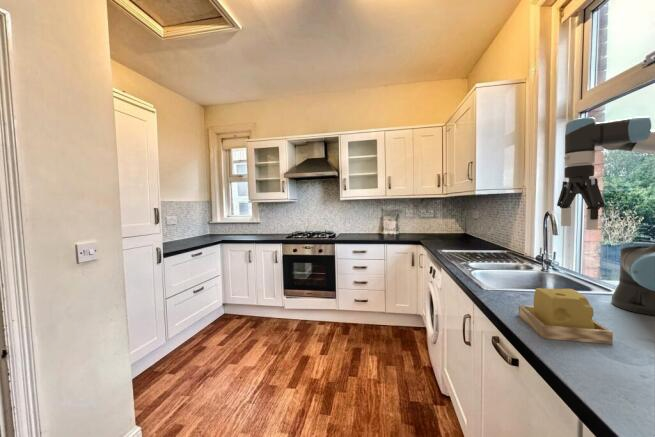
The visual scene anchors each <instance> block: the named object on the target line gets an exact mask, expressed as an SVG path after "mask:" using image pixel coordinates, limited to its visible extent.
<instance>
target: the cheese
mask: <svg viewBox="0 0 655 437" xmlns="http://www.w3.org/2000/svg"><path fill="white" fill-rule="evenodd" d="M590 304H591V303H589V300H588V298H587V297H586V296H585V295H584V294H582V293H580V292H579V291H577V290H575V289H573V288H540V287H539V288H538V287H537V288H535V291H534V294H533V306H534V313H535V317H536V318H537V319H538V320H540V321H541V322H542V323H543V324H544V325H547V326H560V327H572V328H585V329H595V326H594V323H593V321H592V319H593V317H594V313H595V312H594V308H593V307H592V305H590Z"/></svg>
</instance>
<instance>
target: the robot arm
mask: <svg viewBox="0 0 655 437" xmlns="http://www.w3.org/2000/svg"><path fill="white" fill-rule="evenodd" d="M596 120H597V119H596V118H595V117H593V116H588V117H579V118H575V119H572V120H569V121H568V122H567V123H566V124H565V134H564V157H563V159H564V166H566V167H565V168H564V178H566V179H568V180H564V181H562V186H561V191H560V193H559V197H558V200H557V203H556V206H557V207H559V208H560V211H561V212H560V227H571V226H572V203H573V201H574V199H575V198H576V196H577V195H581V197H582V199H583V201H584V203H585V204H586V206H587V208H586V213H585V214H586V215H585V218H586V220H585V221H586V222H585V225H586V226H585V230H586V231H598V230H599V229H598V228H599V210H601V208H605V207H606V205H605V202H604V199H603V196H602V193H601V190H600V188H599V185H598V184H599V181H598V178H591V177H594V176H595V166H594V164H595V163H596V161H595V160H596V159H595V158H596V157H595V156H596V155H595V154H596V149H595V148H596V147H602V149H604V150H606V151H617V150H618V151H626V152H635V153H640V154H641V153H642V154H643V153H644V154H649V155H650V154H651V155H655V129H652V120H651V118H650V117H649V116H648V115H644V116H643V115H642V116H632V117H628V118H622V119H615V120H609V121H601V122H598V121H596ZM619 251H620V258H619V259H620V261H619V278H618V279H619V282H618V285H617V286H616V288H615V290H614V292H613V294H612V295H611V304H612V305H614V307H617V308H620V309H623V310H627V311H629V312H633V313H637V314H642V315H647V316H653V317H654V316H655V242H643V241H642V242H641V241H624V242H622V243H621V244H620V249H619Z"/></svg>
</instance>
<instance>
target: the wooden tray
mask: <svg viewBox="0 0 655 437" xmlns="http://www.w3.org/2000/svg"><path fill="white" fill-rule="evenodd" d="M518 316H519V317H520V318H521V319H522V320H523V321H524V322H525V323H527V324H528V326H530V328H532V330H534V331H535V332H536V334H538V335H539V336H540V337H541V338H542V339H547V340H548V339H549V340H560V341H574V342H584V343H585V342H586V343H593V344H594V343H596V344H607V345H613V340H614V339H613V338H614V336H613V335H614V332H613V331H612V330H610V329H609V328H607V326H603V324H601V323H599V322H597V321H596V320H594V319H593V318H592V321H593V323H594V326H595V329H585V328H572V327H560V326H547V325H544V324H543V323H542V322H541V321H540V320H538V319H537V318H536V317H535V313H534V305H518Z"/></svg>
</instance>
